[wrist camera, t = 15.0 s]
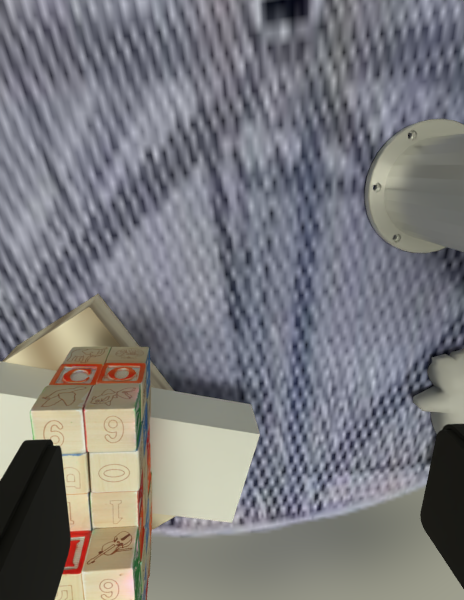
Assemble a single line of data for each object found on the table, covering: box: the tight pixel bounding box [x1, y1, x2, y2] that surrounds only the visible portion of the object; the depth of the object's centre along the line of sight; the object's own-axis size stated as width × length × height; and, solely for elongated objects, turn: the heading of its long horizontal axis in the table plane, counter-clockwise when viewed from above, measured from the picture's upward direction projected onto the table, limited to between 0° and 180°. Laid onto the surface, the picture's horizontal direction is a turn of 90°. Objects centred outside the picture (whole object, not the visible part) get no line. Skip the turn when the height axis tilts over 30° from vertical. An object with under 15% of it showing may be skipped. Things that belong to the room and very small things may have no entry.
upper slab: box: [0, 361, 260, 523], centre depth 39 cm, size 10×24×5 cm, turn 75°
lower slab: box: [2, 294, 175, 529], centre depth 44 cm, size 10×24×5 cm, turn 32°
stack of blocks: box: [30, 346, 152, 600], centre depth 31 cm, size 21×6×12 cm, turn 177°
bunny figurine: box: [413, 349, 464, 433], centre depth 48 cm, size 10×5×15 cm
